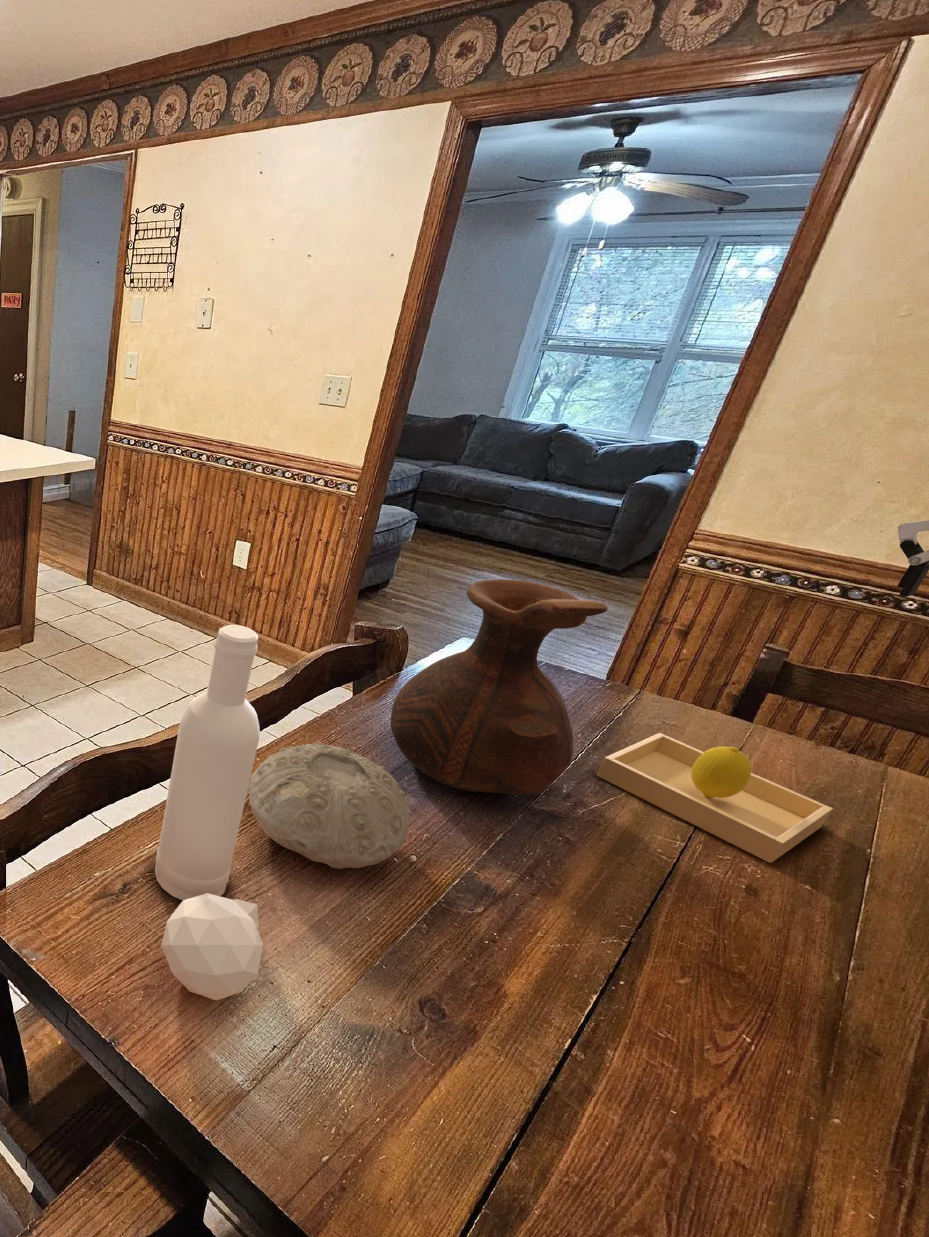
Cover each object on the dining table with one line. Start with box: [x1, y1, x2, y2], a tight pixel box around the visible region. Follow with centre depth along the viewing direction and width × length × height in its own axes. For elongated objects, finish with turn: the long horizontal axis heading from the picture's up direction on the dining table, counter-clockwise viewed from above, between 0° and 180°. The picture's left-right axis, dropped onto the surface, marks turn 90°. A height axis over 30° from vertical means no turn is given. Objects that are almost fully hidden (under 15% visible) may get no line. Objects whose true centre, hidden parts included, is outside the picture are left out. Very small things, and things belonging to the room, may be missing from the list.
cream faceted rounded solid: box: [160, 893, 264, 1001], centre depth 69 cm, size 9×9×12 cm
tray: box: [596, 732, 834, 864], centre depth 100 cm, size 20×16×3 cm
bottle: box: [154, 624, 261, 901], centre depth 76 cm, size 8×8×30 cm
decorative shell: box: [247, 741, 413, 870], centre depth 88 cm, size 18×18×10 cm
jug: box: [390, 578, 608, 795], centre depth 98 cm, size 22×22×30 cm
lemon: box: [691, 746, 752, 798], centre depth 99 cm, size 6×6×8 cm
